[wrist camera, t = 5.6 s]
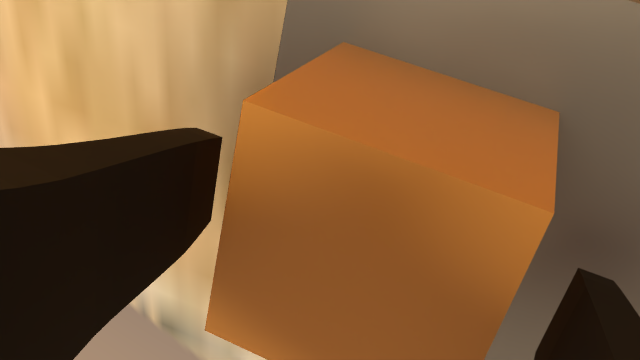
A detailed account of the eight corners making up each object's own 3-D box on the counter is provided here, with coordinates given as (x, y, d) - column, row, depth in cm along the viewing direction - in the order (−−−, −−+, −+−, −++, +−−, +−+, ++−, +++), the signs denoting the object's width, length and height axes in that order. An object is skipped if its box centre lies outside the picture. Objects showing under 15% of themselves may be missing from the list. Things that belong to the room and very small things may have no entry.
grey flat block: (1014, 92, 11) (1287, 204, 7) (733, 443, 16) (793, 639, 12) (326, -86, 14) (223, -83, 10) (261, 251, 19) (173, 349, 15)
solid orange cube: (559, 112, 13) (554, 213, 9) (479, 292, 15) (444, 442, 11) (343, 41, 14) (243, 100, 10) (300, 220, 16) (204, 330, 12)
